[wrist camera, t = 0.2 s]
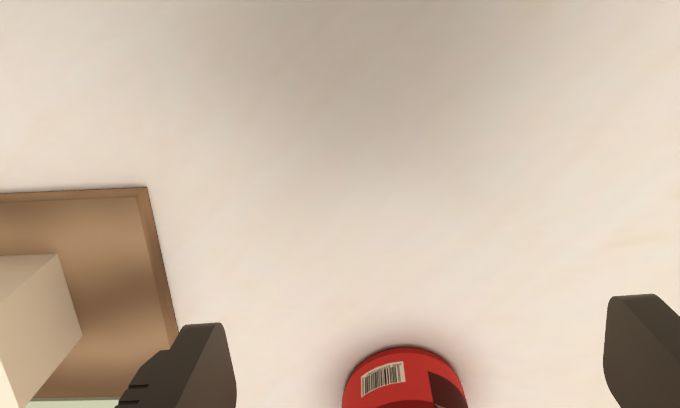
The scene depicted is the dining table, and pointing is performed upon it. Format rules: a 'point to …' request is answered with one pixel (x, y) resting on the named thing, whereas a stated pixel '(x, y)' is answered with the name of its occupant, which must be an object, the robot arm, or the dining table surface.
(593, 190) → the dining table surface
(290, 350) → the dining table surface
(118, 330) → the post board
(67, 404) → the mat
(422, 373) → the canned food
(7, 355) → the cream drawer box
